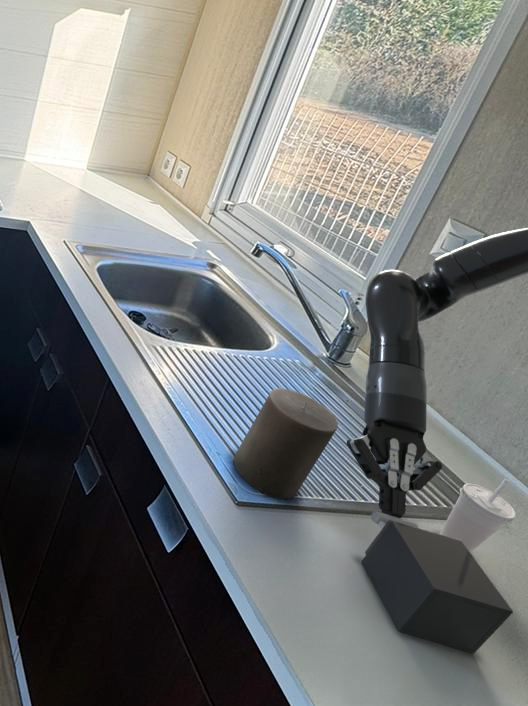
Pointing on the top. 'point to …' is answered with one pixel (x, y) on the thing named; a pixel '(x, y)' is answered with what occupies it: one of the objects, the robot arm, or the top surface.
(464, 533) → the smoothie
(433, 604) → the dark grey box
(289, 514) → the top surface
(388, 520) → the dark grey angled piece
